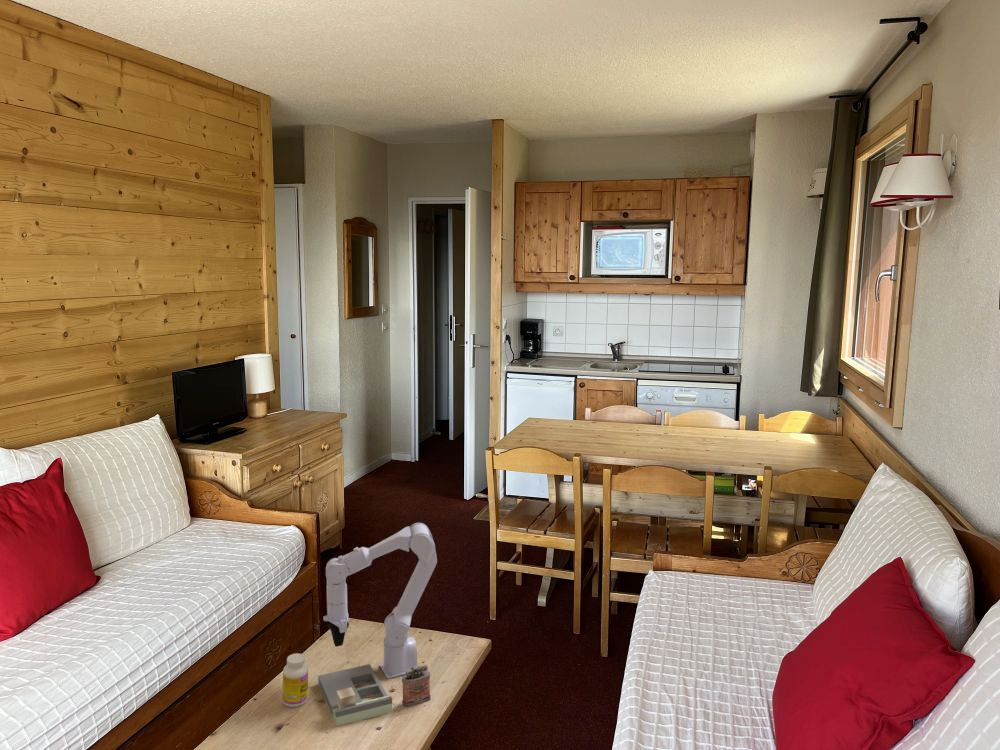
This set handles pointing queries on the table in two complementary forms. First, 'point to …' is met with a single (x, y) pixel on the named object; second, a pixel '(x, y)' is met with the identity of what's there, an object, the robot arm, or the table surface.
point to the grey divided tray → (348, 679)
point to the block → (346, 698)
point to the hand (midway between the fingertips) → (338, 645)
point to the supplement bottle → (295, 681)
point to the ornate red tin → (416, 686)
